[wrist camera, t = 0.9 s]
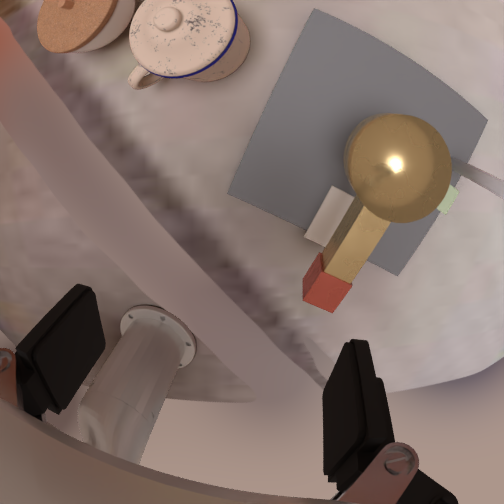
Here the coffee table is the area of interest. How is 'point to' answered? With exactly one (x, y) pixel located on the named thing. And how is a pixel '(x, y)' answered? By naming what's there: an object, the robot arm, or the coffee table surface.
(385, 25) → the coffee table surface
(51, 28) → the lidded jar
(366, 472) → the robot arm
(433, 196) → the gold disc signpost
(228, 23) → the teacup with lid
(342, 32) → the plate
